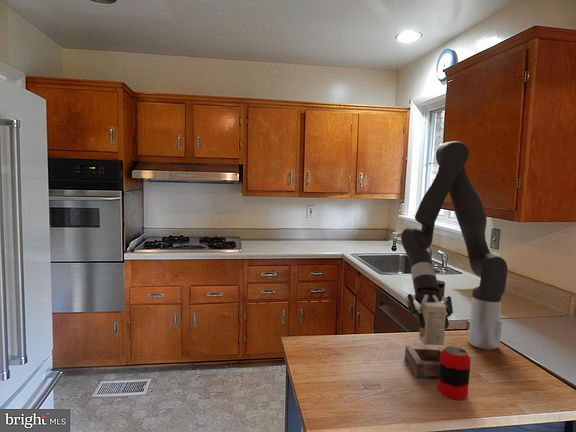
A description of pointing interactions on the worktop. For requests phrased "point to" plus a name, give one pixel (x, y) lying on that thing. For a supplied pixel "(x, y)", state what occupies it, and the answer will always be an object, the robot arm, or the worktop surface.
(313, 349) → the worktop surface
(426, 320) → the skincare box
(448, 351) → the soda can
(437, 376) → the walnut holder block
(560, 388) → the worktop surface
